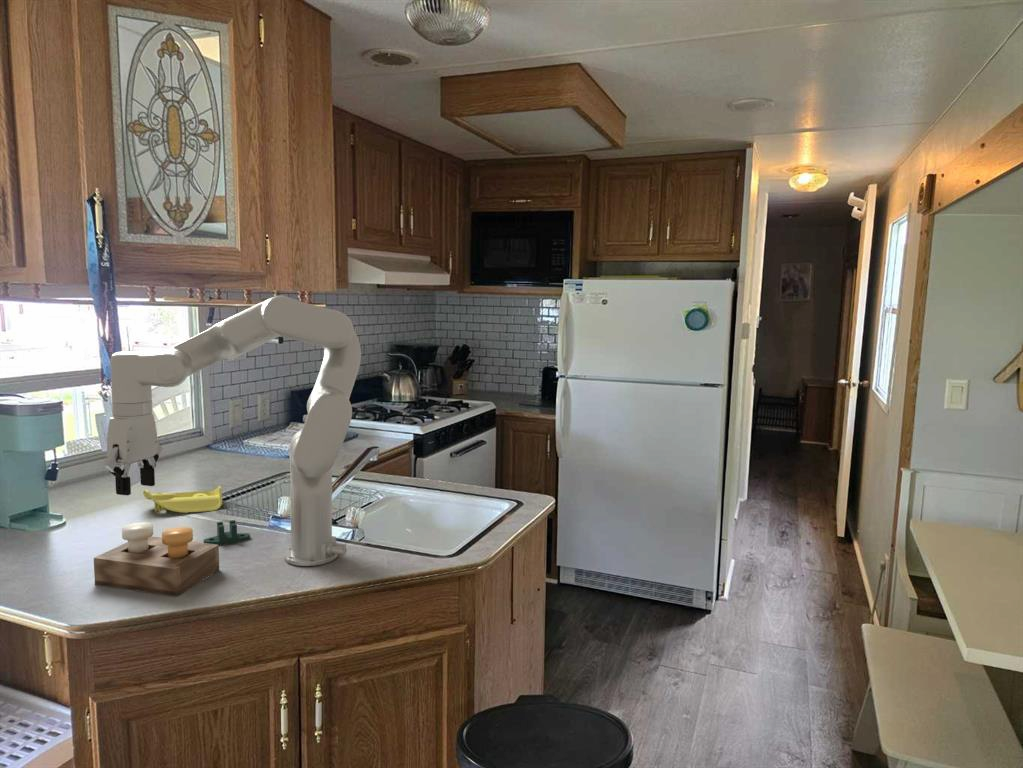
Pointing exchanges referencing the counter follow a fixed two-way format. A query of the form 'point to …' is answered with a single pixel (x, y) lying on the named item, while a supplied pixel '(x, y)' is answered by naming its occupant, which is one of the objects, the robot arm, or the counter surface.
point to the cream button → (137, 536)
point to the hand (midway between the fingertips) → (135, 489)
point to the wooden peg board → (156, 568)
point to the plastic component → (187, 501)
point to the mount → (227, 535)
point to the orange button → (177, 541)
